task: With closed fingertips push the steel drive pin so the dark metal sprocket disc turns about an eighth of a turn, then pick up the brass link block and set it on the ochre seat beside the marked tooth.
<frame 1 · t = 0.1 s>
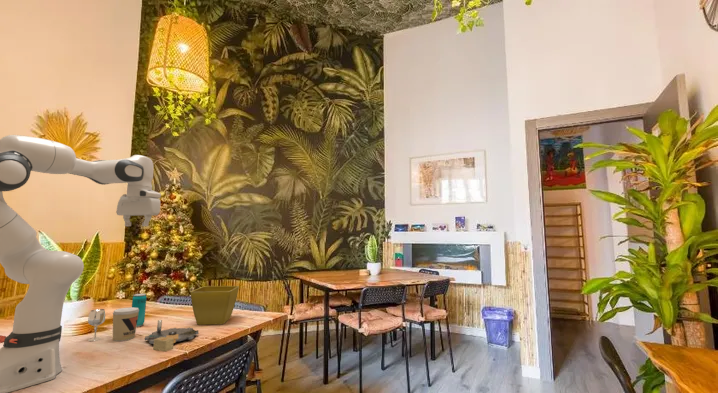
hand: (136, 226, 138), 48 cm above the table, tool pointing down, fingers open, 8 cm apart
coffee cup: (123, 338, 141), on the table
flower pot: (214, 322, 169), on the table
wineglass: (94, 339, 139), on the table
link: (163, 349, 129), on the table
beverage can: (137, 326, 160), on the table
sprocket: (172, 329, 141), point 4 cm above the table, hinge at 0.0°
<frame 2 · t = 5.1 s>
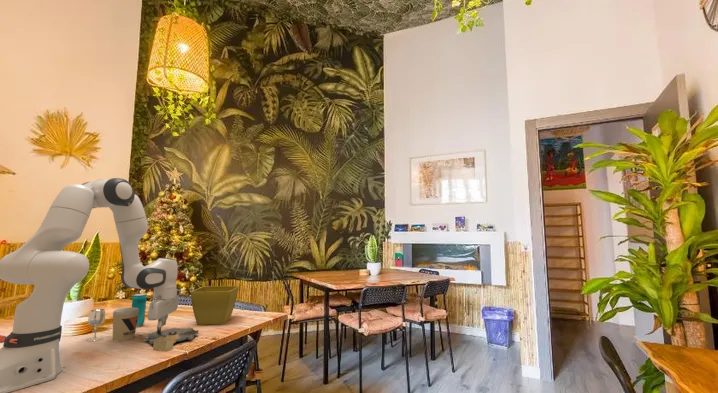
hand: (162, 325, 146), 4 cm above the table, tool pointing down, fingers closed
sprocket: (172, 329, 141), point 4 cm above the table, hinge at 0.0°, touching gripper
everything else where it was.
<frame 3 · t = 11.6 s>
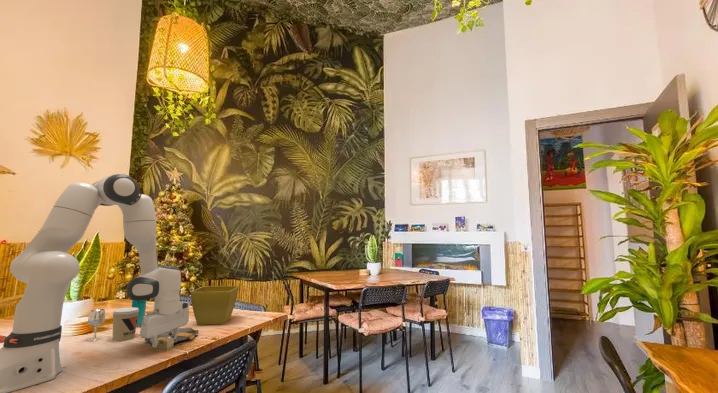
hand: (164, 343, 130), 2 cm above the table, tool pointing down, fingers open, 7 cm apart
sprocket: (172, 329, 141), point 4 cm above the table, hinge at 48.7°, touching gripper
everything else where it was.
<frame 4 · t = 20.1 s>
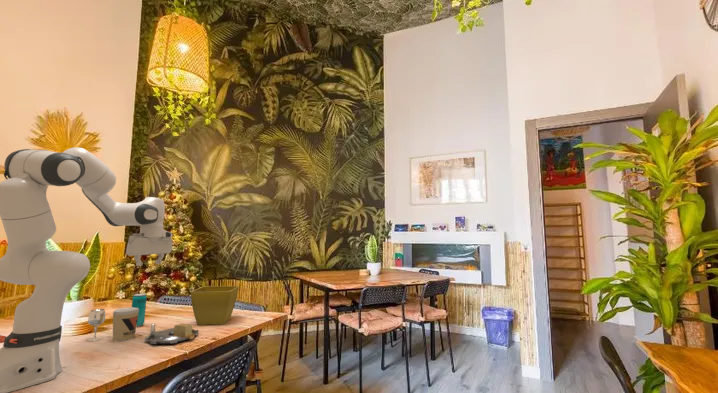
hand: (149, 264, 146), 31 cm above the table, tool pointing down, fingers open, 8 cm apart
link: (182, 334, 140), point 2 cm above the table, touching sprocket
sprocket: (172, 329, 141), point 4 cm above the table, hinge at 48.9°, touching link
everything else where it was.
at the end: sprocket at +49° (first picture: +0°); link 0.5 cm from the target spot on the sprocket, point 2.3 cm above the sprocket's base; the gripper is holding nothing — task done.
